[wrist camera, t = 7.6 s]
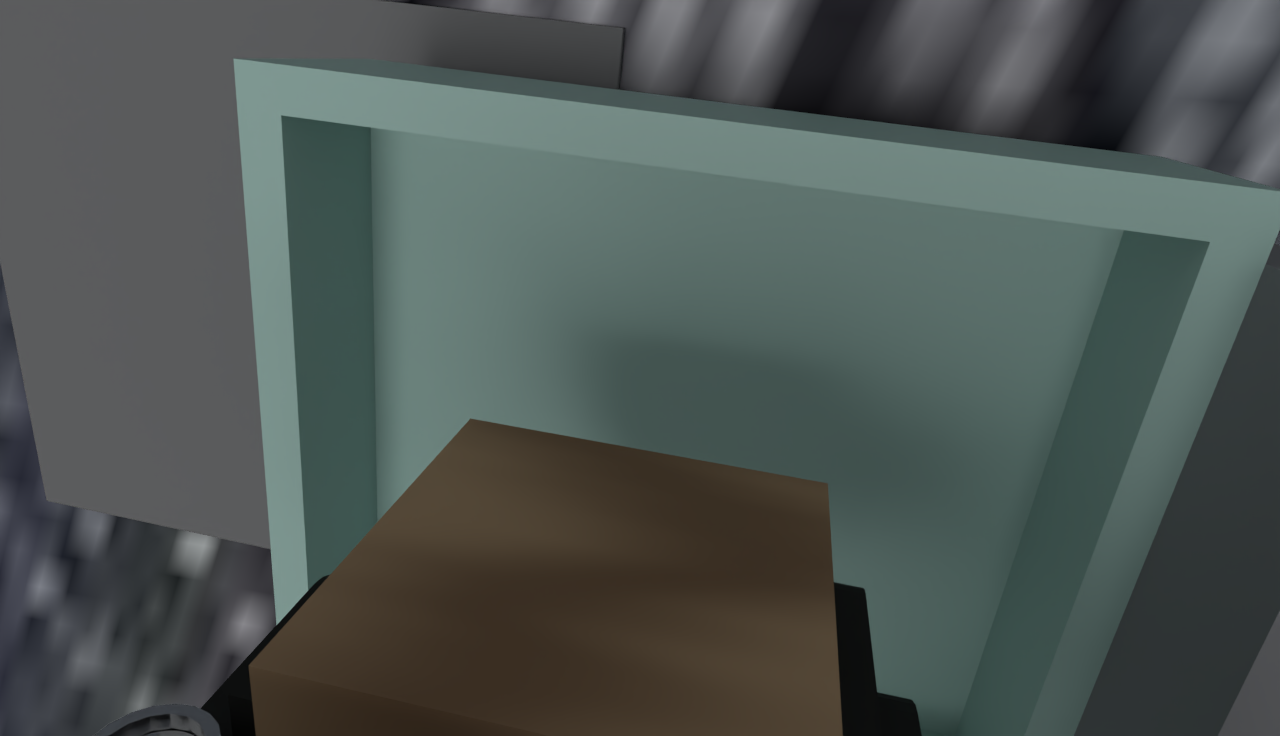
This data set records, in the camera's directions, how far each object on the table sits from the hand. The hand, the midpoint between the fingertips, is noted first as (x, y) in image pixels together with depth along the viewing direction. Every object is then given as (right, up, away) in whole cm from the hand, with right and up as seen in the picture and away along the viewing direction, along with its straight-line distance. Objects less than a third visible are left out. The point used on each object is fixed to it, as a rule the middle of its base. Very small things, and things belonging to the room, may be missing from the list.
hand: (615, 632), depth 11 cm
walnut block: (0, 0, +1) cm, 1 cm away
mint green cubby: (+2, +3, +10) cm, 11 cm away
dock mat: (-10, +5, +11) cm, 16 cm away
